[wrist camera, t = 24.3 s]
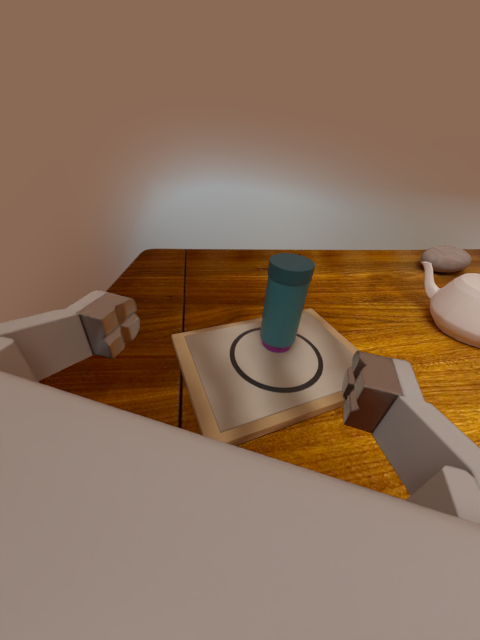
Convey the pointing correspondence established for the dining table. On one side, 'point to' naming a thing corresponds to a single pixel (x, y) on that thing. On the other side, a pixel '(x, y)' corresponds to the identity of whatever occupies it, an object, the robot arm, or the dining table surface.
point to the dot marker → (284, 300)
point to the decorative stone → (446, 258)
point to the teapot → (456, 306)
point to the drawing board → (261, 377)
